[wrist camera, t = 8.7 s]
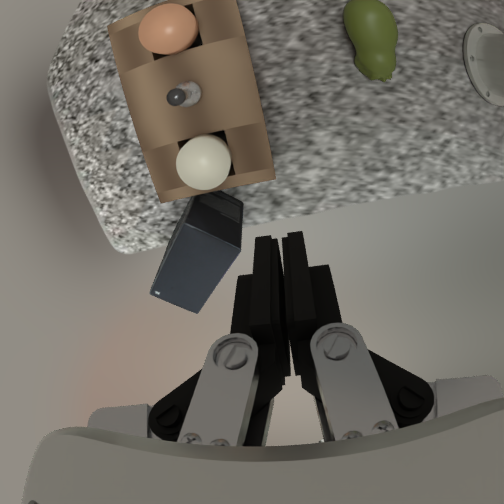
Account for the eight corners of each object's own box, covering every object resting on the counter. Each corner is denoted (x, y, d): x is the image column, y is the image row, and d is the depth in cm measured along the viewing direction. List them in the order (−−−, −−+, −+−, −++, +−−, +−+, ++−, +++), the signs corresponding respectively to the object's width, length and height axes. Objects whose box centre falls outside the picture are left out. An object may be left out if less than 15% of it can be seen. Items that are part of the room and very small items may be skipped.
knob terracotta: (203, 13, 21) (187, -4, 15) (212, 50, 24) (199, 43, 18) (160, 27, 22) (133, 16, 15) (169, 63, 24) (144, 61, 18)
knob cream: (230, 120, 28) (222, 132, 22) (239, 159, 31) (235, 184, 25) (187, 130, 29) (169, 146, 23) (199, 168, 32) (184, 195, 25)
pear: (398, -3, 15) (412, 84, 22) (376, -1, 19) (390, 74, 26) (347, -5, 16) (366, 87, 23) (330, 0, 20) (348, 78, 27)
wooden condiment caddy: (235, -1, 20) (231, -17, 16) (272, 161, 32) (276, 179, 27) (131, 31, 22) (107, 25, 17) (174, 182, 33) (160, 203, 28)
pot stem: (198, 78, 21) (186, 78, 17) (204, 102, 22) (194, 107, 19) (172, 85, 21) (156, 88, 18) (179, 109, 23) (164, 116, 19)
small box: (209, 262, 40) (198, 317, 32) (168, 242, 38) (146, 294, 30) (247, 203, 35) (244, 252, 26) (200, 179, 33) (180, 221, 24)
